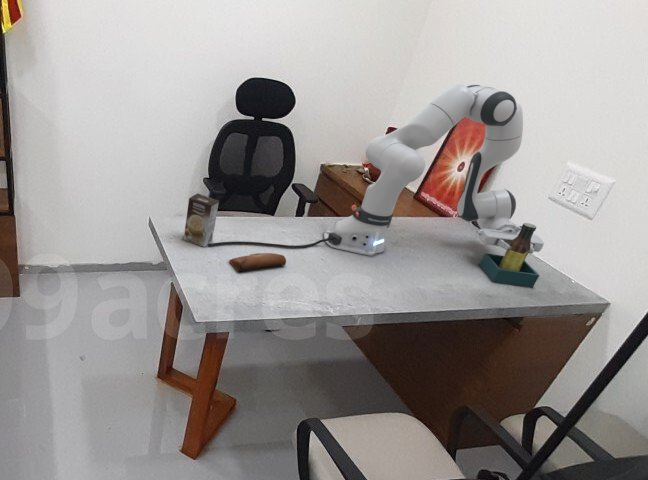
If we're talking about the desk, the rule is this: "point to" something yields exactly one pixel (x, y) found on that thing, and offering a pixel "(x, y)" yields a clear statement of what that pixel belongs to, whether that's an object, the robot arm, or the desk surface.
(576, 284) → the desk surface
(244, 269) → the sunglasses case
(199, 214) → the coffee box
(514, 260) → the sauce bottle
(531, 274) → the teal open box
